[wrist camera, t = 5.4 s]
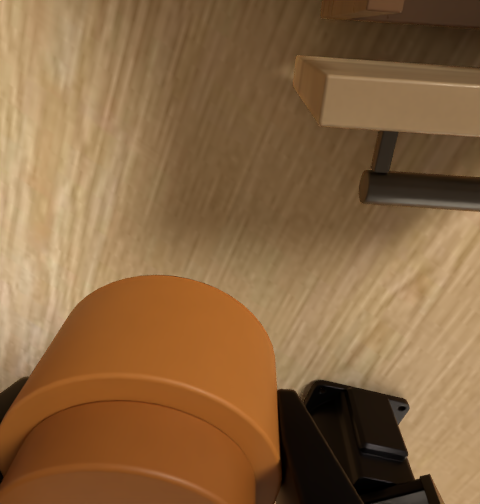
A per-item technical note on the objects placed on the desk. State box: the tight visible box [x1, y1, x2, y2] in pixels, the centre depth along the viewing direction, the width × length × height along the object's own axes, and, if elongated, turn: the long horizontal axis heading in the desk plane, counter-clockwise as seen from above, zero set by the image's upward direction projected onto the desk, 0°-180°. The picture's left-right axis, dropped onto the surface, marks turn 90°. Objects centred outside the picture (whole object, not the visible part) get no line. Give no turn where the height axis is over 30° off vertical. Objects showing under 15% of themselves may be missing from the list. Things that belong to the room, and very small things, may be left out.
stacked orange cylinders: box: [0, 275, 282, 504], centre depth 8 cm, size 5×5×4 cm
